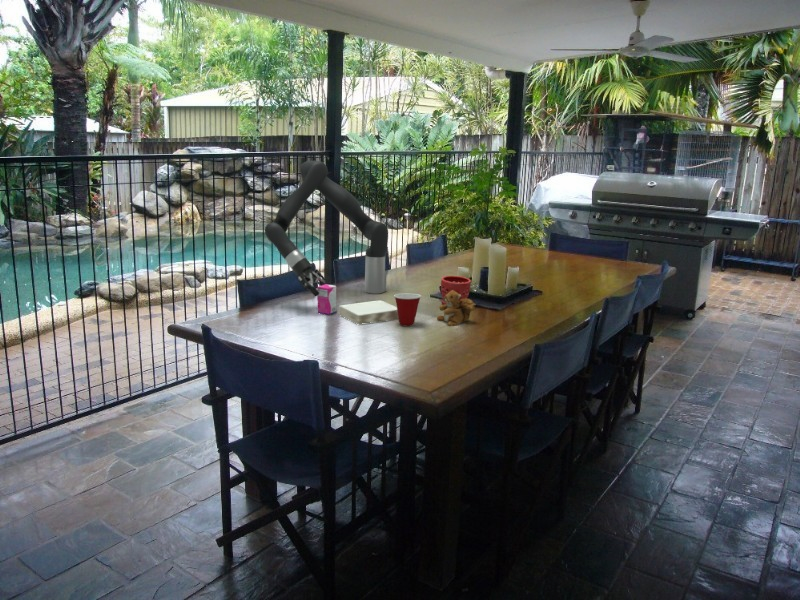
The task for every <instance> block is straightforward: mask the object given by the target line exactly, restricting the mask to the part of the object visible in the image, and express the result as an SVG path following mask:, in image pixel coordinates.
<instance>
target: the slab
mask: <svg viewBox="0 0 800 600" xmlns="http://www.w3.org/2000/svg"><path fill="white" fill-rule="evenodd" d="M338 315H339V316H340V315H341V316H340V317H342V316H343V317H342V318H344V317H345V318H344V319H346V318H347V319H346V320H348V319H349V320H348V321H350V320H351V321H350V322H352V321H353V322H355V323H357V324H362V323H369V324H371V323H370V322H375V323H380V322H379V321H382V322H387V321H386V320H389V321H395V320H394V319H396V320H399V318H398V312H397V306H395V305H392V304H390V303H388V302H386V301H383V300H380V299H379V300H374V301H373V300H372V301H363V302H357V303H350V304H349V303H347V304H343V305H339V306H338ZM353 322H352V323H353ZM355 323H354V324H355ZM357 324H356V325H357ZM362 325H363V324H362Z"/></svg>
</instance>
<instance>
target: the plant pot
mask: <svg viewBox="0 0 800 600" xmlns="http://www.w3.org/2000/svg"><path fill="white" fill-rule="evenodd" d="M471 282H472V281H471V279H470V278H467V277H464V276H460V275H446V276H442V277H441V280H440V293H441V296H442V298H440V301H441V303H442V305H444V304H447V302H446V301H445V299H444V297H445V296H446V295H447V294H448V293H449V292H450V291H452V290H454V291H455V292H457V293H458V294H461V297H460V298H459V300H458V301H460V300H461V299H465V298H467V299H468V297H469V294H470V290H471V284H472V283H471ZM443 299H444V300H443Z"/></svg>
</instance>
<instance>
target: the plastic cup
mask: <svg viewBox="0 0 800 600" xmlns="http://www.w3.org/2000/svg"><path fill="white" fill-rule="evenodd" d="M393 297H394V299H395V304H396V307H397V312H398V318H399V319H398V323H400V324H401V325H400V324H399V325H400V326H403V325H406V326H405V327H411V326H410V325H412V326H413V325H414V323H415V321H416V316H417V312H418V308H419V303H420V300H421V298H422V295H421V294H419V293H406V292H405V293H403V292H402V293H396V294H394V295H393Z"/></svg>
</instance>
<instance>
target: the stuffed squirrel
mask: <svg viewBox="0 0 800 600" xmlns="http://www.w3.org/2000/svg"><path fill="white" fill-rule="evenodd" d="M460 297H461V294H458V293H457V292H455V291H454V290H452V291H450V292H449V293H448V294H447V295H446V296H445V297H444V299H445V301H446V302H447V304H440V306H439V310H440V311H443V315H438V316H437V317H436V320H438V321H443V322H446V323H447V326H449V327H454V326H458V325H460V324H461V323H465V322H466V321H468V320H469V319H470V315H471V312H472V311H474V310H475V308H476V305H477V304H476V303H475V302H474V301H473V300H472V299H470V298H468V297H467V298H465V299H461V300H460V301H458V300H459V298H460ZM444 299H443V300H444Z"/></svg>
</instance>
